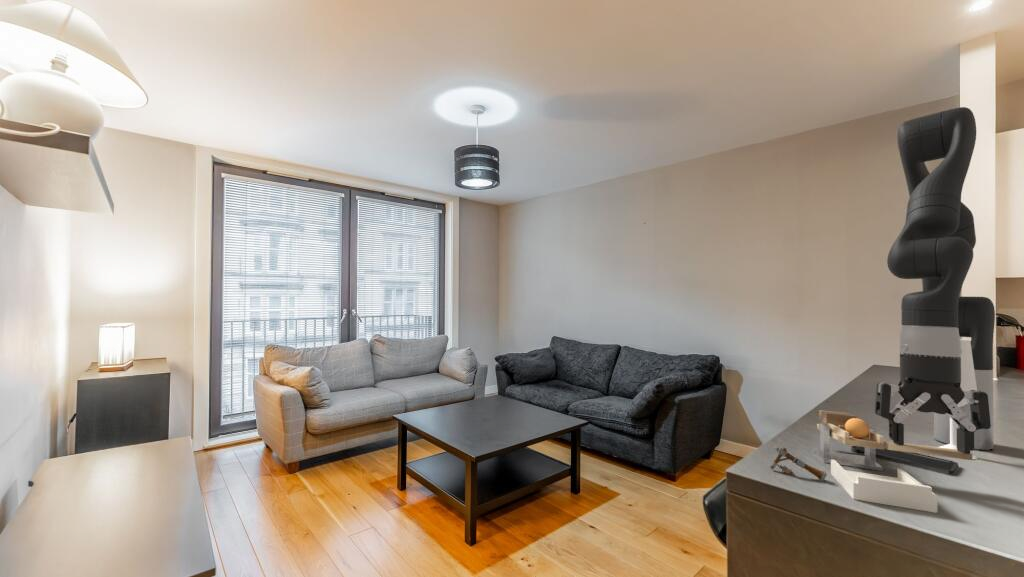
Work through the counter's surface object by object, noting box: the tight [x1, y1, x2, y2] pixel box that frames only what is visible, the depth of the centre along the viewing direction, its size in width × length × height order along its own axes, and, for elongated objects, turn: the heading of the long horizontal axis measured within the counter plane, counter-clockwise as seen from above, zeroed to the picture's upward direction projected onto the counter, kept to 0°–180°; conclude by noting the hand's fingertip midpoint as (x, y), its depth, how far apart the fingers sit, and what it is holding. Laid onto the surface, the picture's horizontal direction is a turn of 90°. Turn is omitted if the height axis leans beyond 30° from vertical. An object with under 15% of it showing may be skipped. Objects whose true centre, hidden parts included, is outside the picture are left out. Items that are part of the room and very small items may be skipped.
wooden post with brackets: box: [769, 446, 828, 483], centre depth 75 cm, size 2×8×4 cm, turn 57°
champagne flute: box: [939, 338, 977, 459], centre depth 88 cm, size 7×7×24 cm
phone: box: [850, 445, 959, 476], centre depth 84 cm, size 8×1×15 cm
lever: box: [816, 409, 974, 461], centre depth 80 cm, size 17×17×4 cm
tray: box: [830, 460, 938, 514], centre depth 69 cm, size 11×10×4 cm
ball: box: [845, 417, 870, 438], centre depth 77 cm, size 4×4×4 cm
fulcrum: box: [814, 423, 884, 472], centre depth 82 cm, size 6×9×7 cm, turn 68°
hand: (929, 448), depth 72 cm, fingers open, 8 cm apart
